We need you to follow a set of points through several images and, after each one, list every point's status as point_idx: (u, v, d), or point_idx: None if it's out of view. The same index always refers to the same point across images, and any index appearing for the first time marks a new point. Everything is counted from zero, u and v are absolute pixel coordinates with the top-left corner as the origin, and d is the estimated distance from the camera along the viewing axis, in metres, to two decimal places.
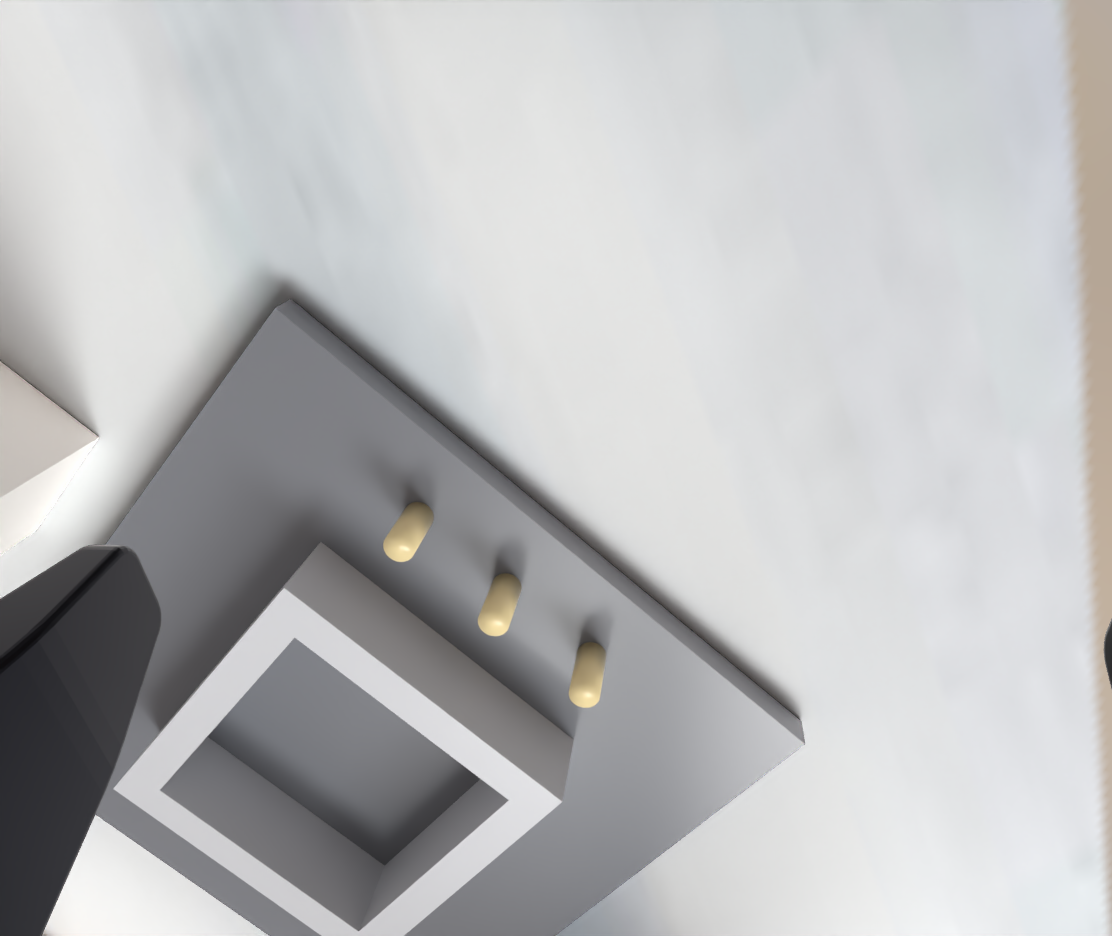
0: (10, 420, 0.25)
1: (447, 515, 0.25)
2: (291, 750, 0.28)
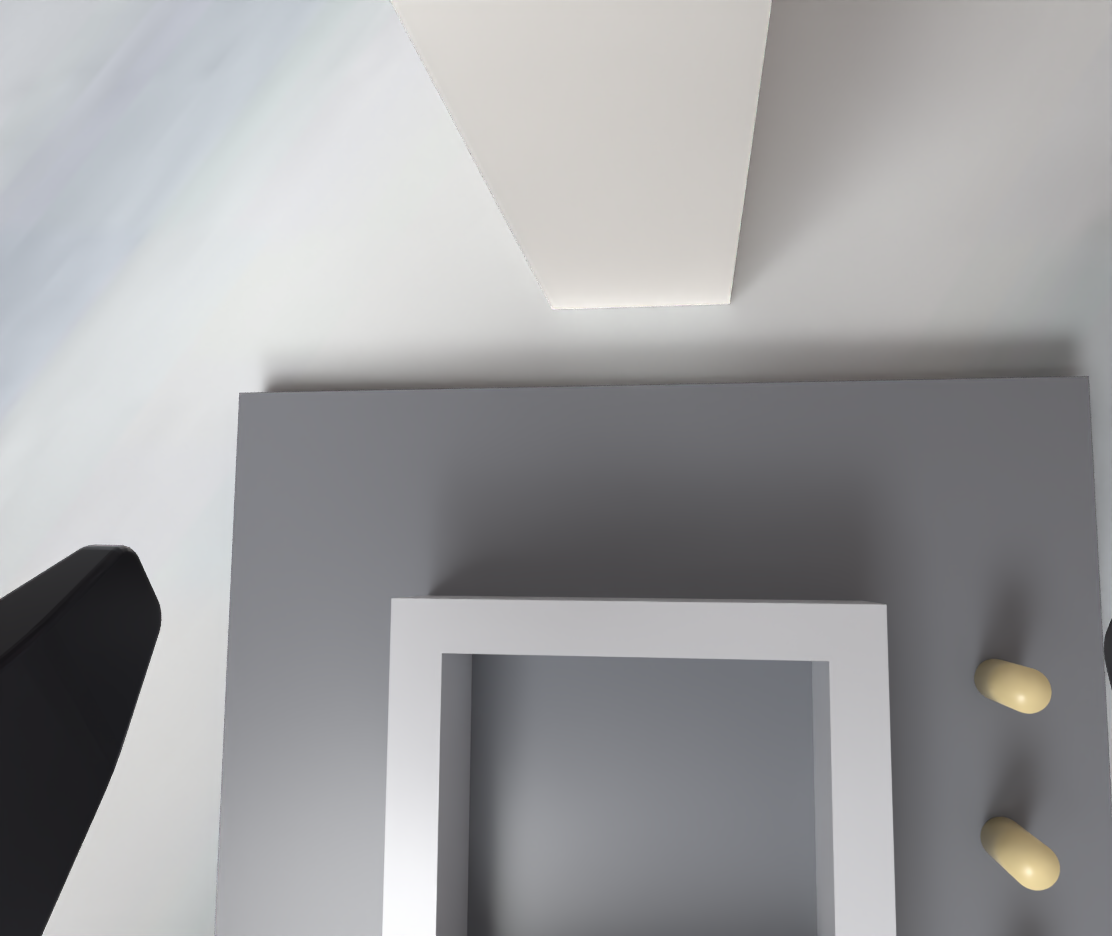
0: None
1: None
2: (542, 759, 0.20)
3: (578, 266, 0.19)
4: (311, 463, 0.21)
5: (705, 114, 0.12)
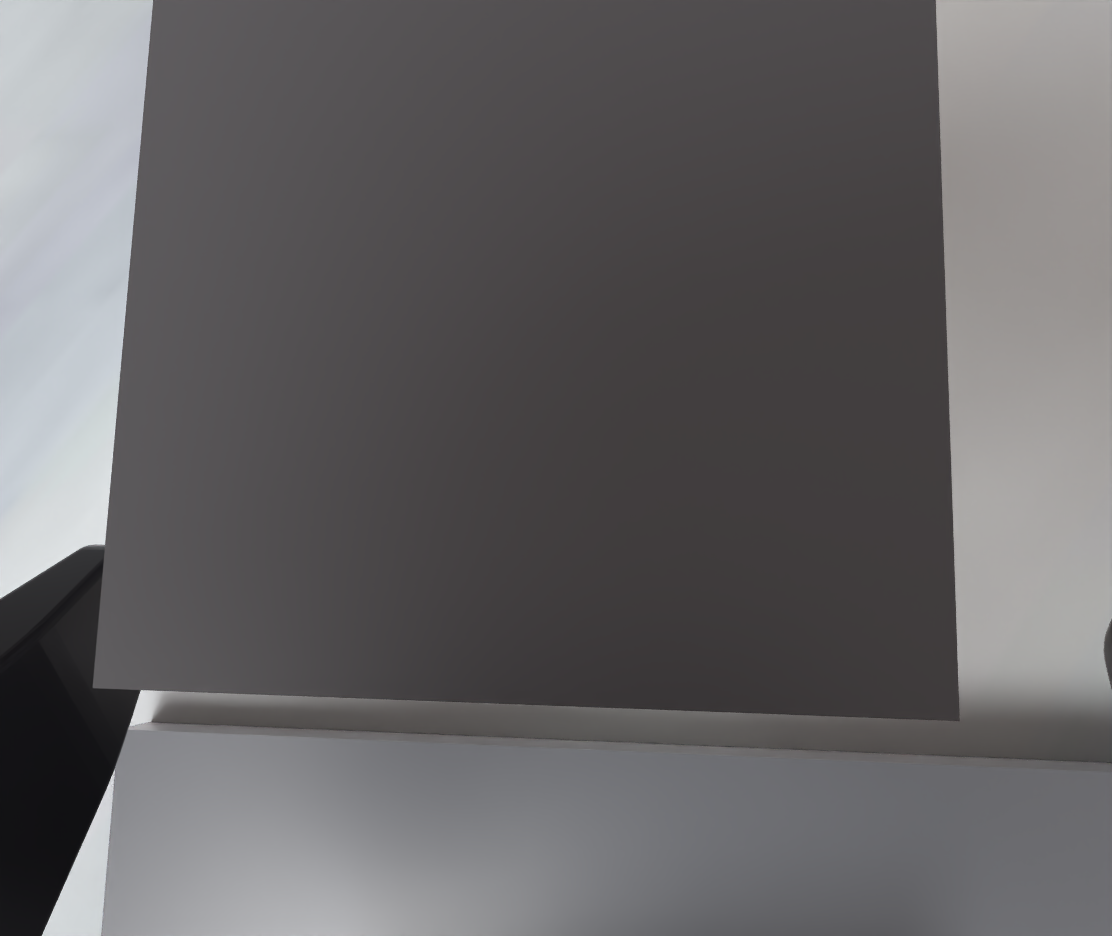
0: None
1: None
2: None
3: None
4: (206, 829, 0.17)
5: None
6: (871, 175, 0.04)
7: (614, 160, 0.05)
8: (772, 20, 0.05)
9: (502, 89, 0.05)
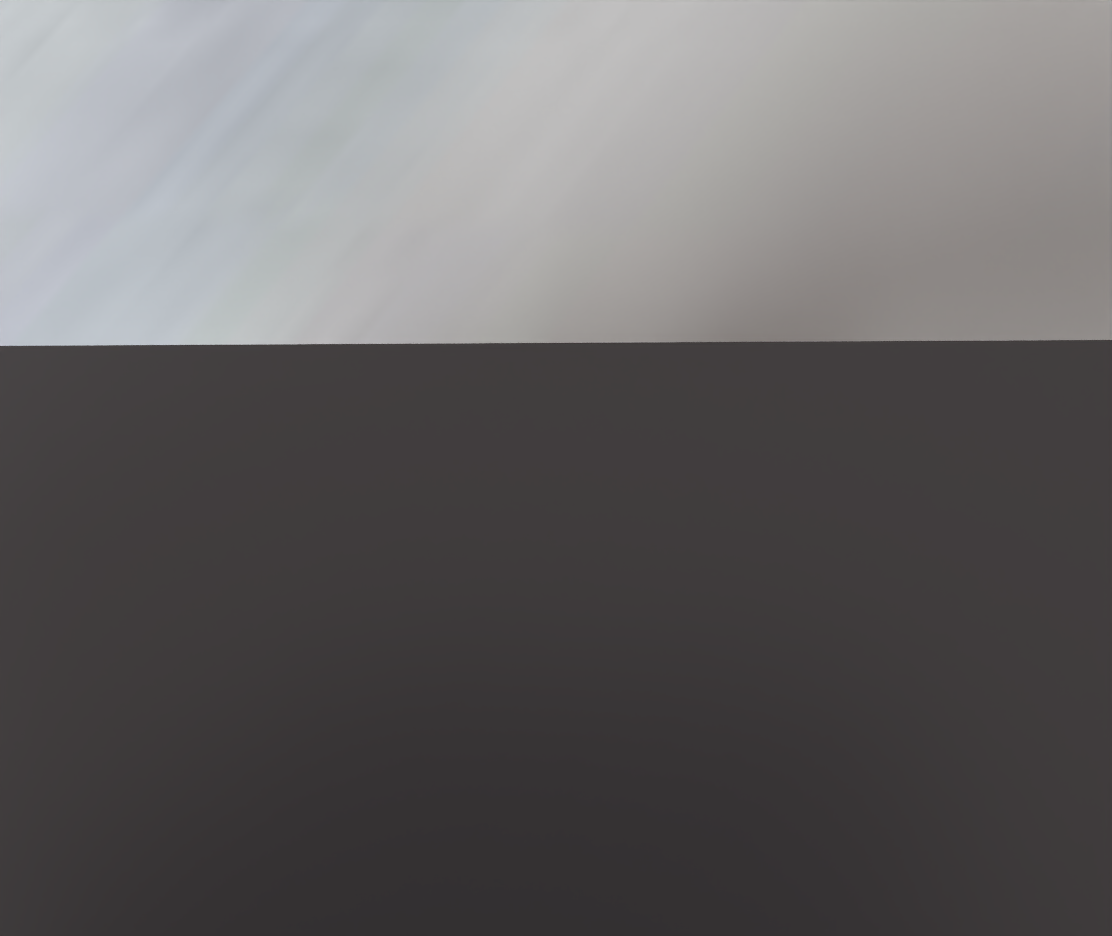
0: None
1: None
2: None
3: None
4: None
5: None
6: None
7: (584, 925, 0.02)
8: (912, 636, 0.02)
9: (364, 735, 0.02)
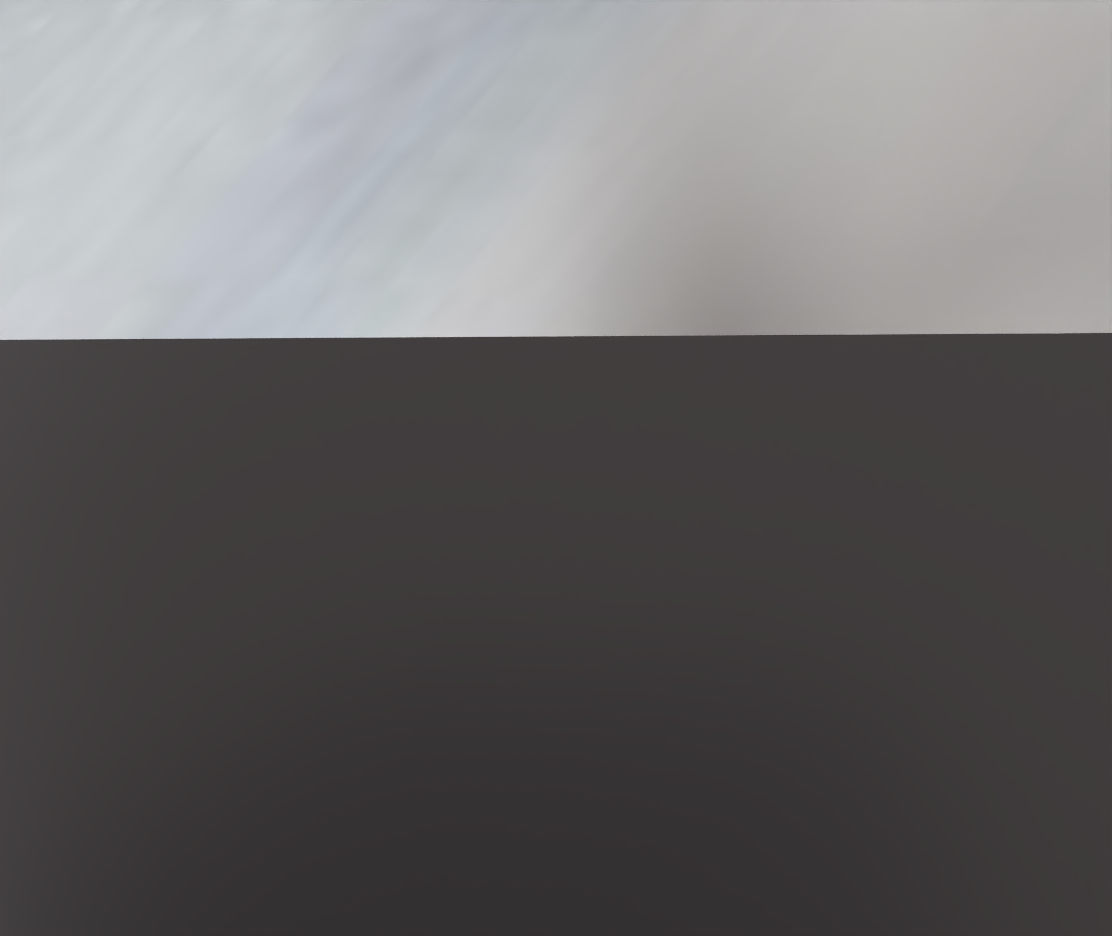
0: None
1: None
2: None
3: None
4: None
5: None
6: None
7: (584, 918, 0.02)
8: (912, 630, 0.02)
9: (360, 723, 0.02)
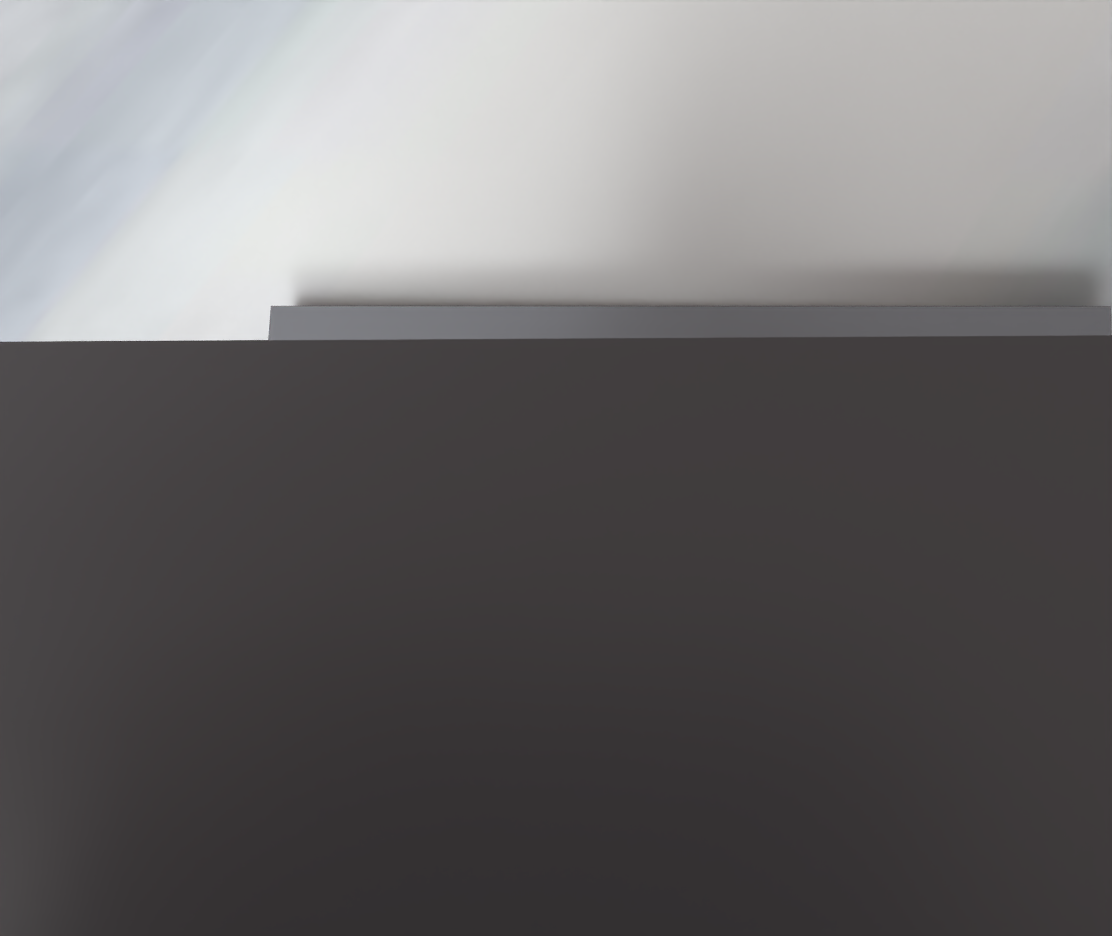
0: None
1: None
2: None
3: None
4: None
5: None
6: None
7: (583, 921, 0.02)
8: (912, 632, 0.02)
9: (364, 727, 0.02)
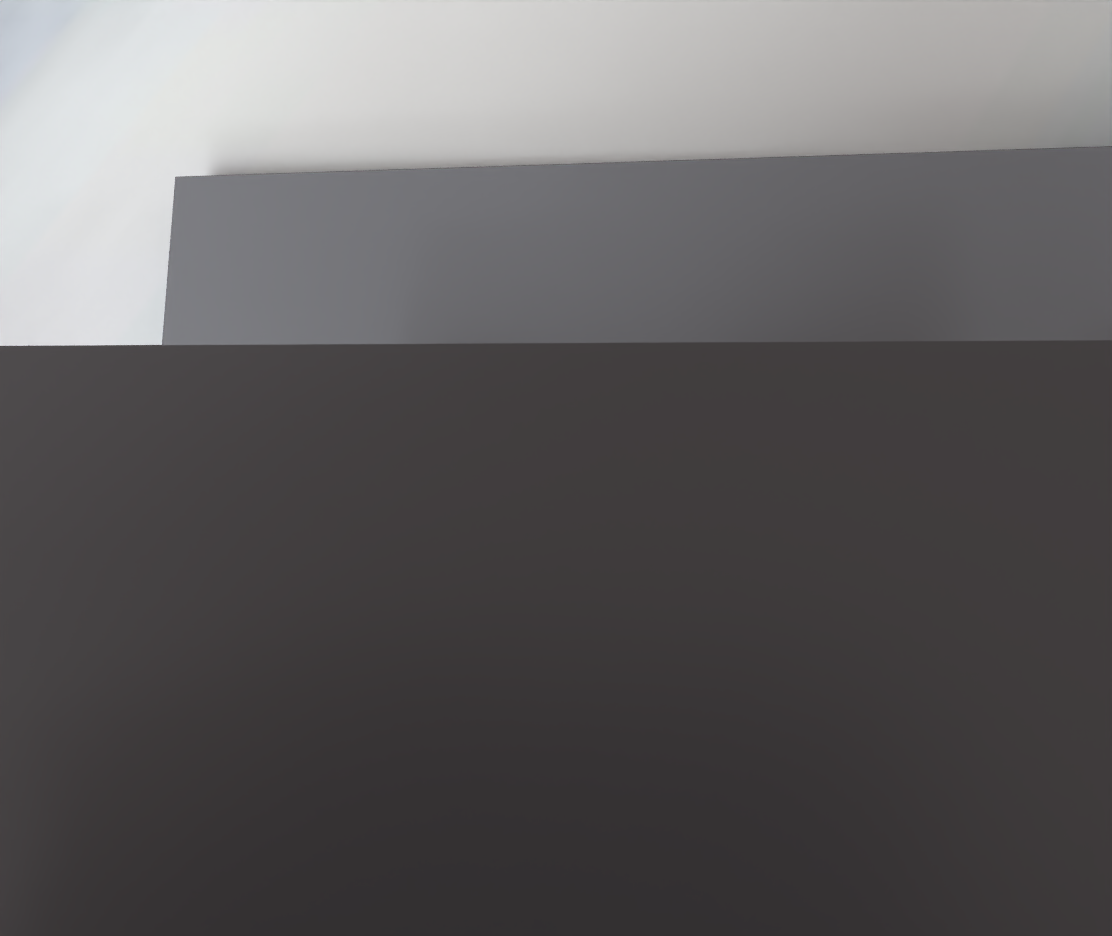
0: None
1: None
2: None
3: None
4: (257, 256, 0.18)
5: None
6: None
7: (582, 929, 0.02)
8: (913, 639, 0.02)
9: (358, 734, 0.02)
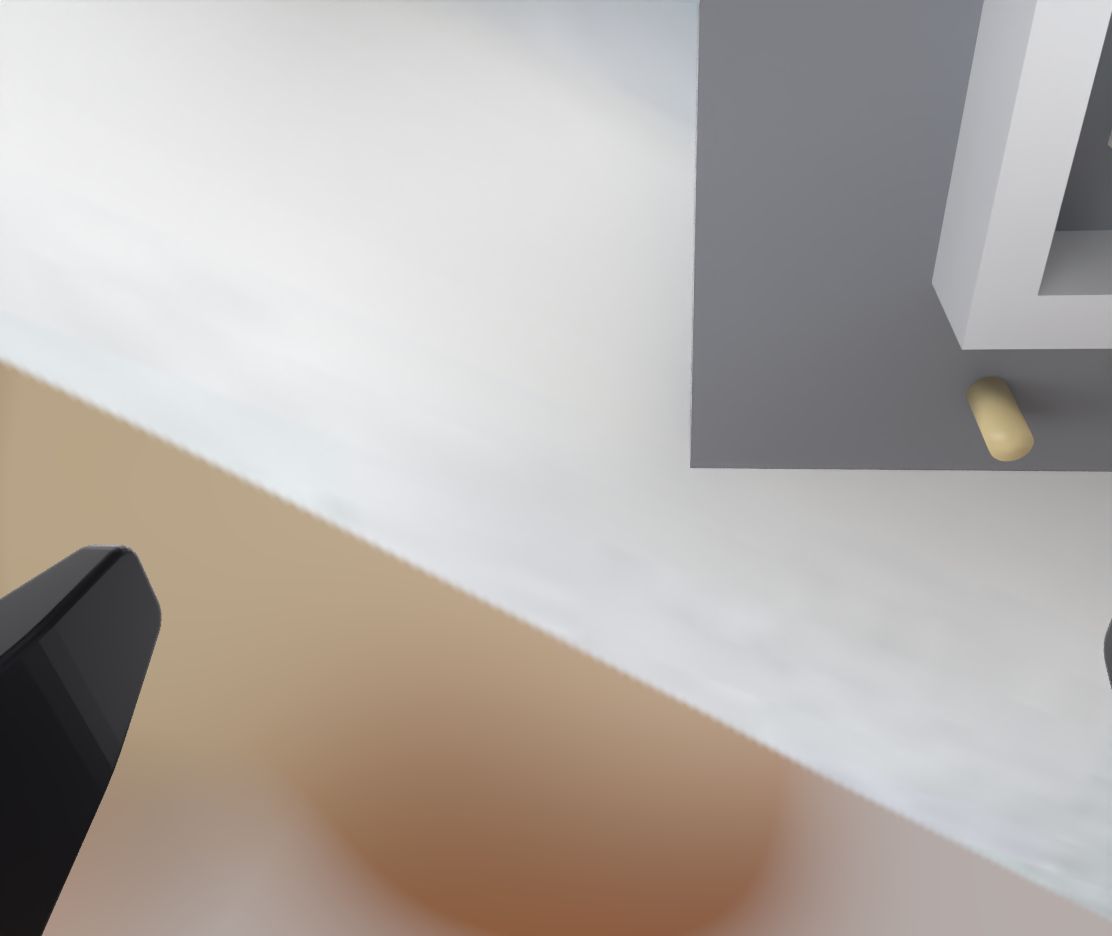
0: None
1: None
2: None
3: None
4: None
5: None
6: None
7: None
8: None
9: None
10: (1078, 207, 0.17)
